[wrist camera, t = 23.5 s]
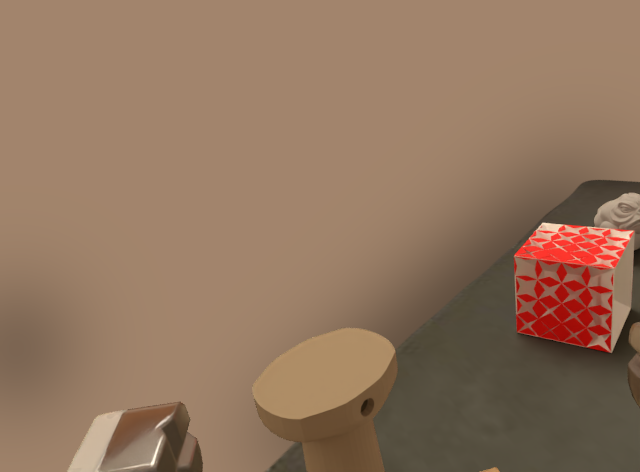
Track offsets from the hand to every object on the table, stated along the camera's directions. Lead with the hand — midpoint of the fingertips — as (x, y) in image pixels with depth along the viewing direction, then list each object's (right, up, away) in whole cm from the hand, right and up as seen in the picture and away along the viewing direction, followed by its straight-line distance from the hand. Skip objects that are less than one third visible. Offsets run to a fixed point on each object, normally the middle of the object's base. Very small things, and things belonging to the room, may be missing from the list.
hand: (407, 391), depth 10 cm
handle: (+1, -17, +18) cm, 25 cm away
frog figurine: (+33, +1, +50) cm, 60 cm away
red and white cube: (+22, -5, +40) cm, 46 cm away
